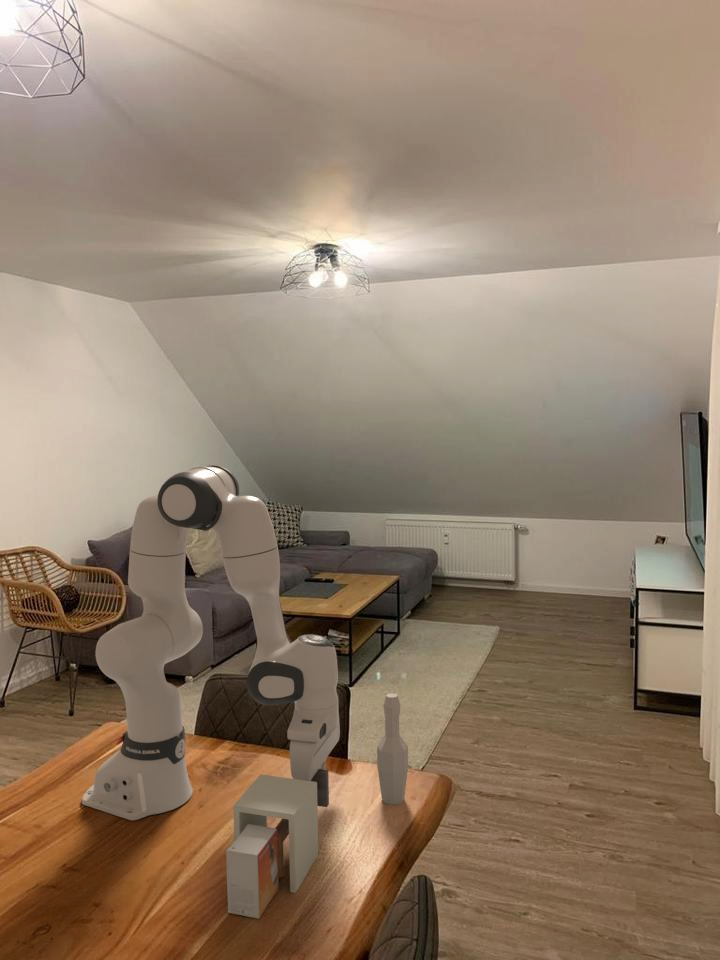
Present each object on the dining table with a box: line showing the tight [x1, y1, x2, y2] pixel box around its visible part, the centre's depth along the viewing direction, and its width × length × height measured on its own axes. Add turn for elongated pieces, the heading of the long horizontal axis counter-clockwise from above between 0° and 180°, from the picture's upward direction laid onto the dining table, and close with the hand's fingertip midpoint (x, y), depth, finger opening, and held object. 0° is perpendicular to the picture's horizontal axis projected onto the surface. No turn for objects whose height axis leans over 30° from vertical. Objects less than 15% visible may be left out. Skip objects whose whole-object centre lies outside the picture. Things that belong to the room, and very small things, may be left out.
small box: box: [225, 824, 280, 920], centre depth 113 cm, size 8×6×10 cm
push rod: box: [274, 769, 330, 878], centre depth 128 cm, size 6×24×7 cm, turn 164°
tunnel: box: [232, 774, 319, 894], centre depth 122 cm, size 11×11×14 cm
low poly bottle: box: [376, 693, 409, 806], centre depth 144 cm, size 6×6×22 cm
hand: (317, 781), depth 142 cm, fingers closed
